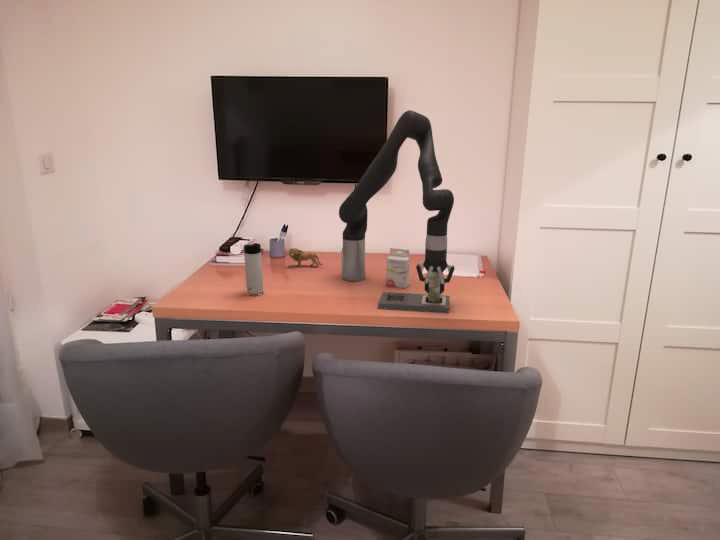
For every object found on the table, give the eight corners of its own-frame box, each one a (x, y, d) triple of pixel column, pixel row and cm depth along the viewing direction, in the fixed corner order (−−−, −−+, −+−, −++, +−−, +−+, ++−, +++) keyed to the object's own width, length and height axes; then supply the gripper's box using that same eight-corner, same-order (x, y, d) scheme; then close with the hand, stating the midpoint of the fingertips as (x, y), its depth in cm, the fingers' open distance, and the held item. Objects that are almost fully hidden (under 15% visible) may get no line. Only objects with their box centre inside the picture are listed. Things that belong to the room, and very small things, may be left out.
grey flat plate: (378, 308, 191) (378, 302, 190) (382, 296, 202) (382, 291, 201) (448, 313, 186) (448, 307, 185) (449, 300, 197) (449, 295, 197)
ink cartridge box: (385, 286, 213) (385, 250, 209) (389, 282, 218) (389, 247, 213) (406, 288, 211) (407, 252, 206) (409, 284, 215) (410, 249, 211)
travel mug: (250, 297, 201) (246, 246, 195) (245, 292, 207) (241, 242, 201) (266, 294, 204) (262, 244, 198) (260, 289, 210) (257, 240, 204)
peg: (427, 304, 191) (428, 272, 187) (428, 299, 195) (429, 268, 191) (439, 304, 190) (441, 272, 186) (440, 300, 194) (441, 269, 190)
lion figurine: (289, 269, 235) (288, 249, 232) (289, 265, 240) (288, 246, 237) (322, 267, 237) (322, 248, 234) (321, 264, 242) (321, 245, 239)
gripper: (457, 244, 188) (454, 290, 194) (416, 243, 191) (415, 287, 196) (456, 250, 181) (454, 297, 186) (414, 248, 184) (413, 294, 189)
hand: (434, 292), depth 191 cm, fingers closed on peg, 4 cm apart
